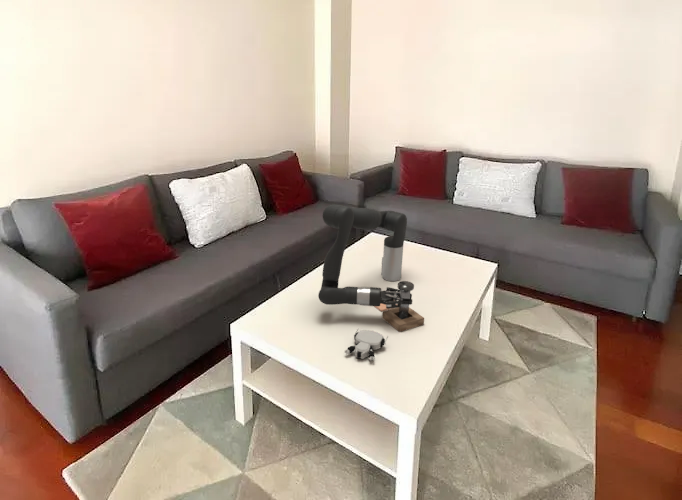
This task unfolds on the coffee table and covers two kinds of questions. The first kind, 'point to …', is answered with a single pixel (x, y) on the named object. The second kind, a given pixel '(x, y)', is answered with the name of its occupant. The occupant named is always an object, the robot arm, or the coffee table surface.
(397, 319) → the collar
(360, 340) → the robot toy
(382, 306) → the pad
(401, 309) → the peg
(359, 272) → the coffee table surface
